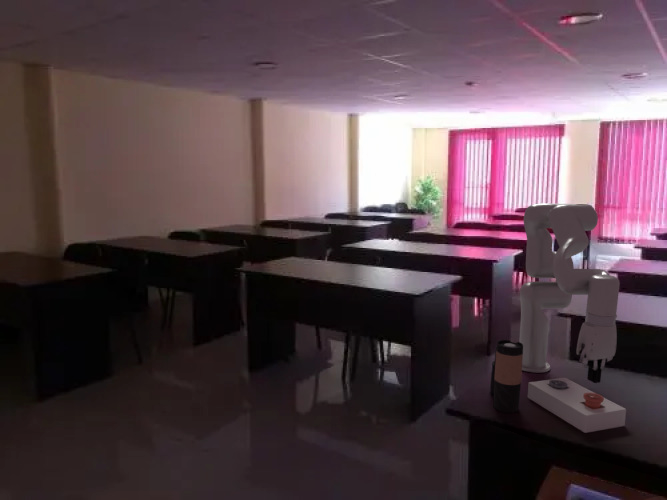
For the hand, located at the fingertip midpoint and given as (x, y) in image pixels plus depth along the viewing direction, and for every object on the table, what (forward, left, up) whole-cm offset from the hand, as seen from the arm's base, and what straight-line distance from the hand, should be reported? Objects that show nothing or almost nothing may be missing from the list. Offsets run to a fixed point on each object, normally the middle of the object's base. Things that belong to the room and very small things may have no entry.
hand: (593, 380), depth 154 cm
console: (-6, 0, -12) cm, 14 cm away
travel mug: (-14, -18, -12) cm, 26 cm away
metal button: (-13, 0, -10) cm, 17 cm away
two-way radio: (-24, -14, -12) cm, 31 cm away
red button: (+1, 0, -9) cm, 9 cm away
